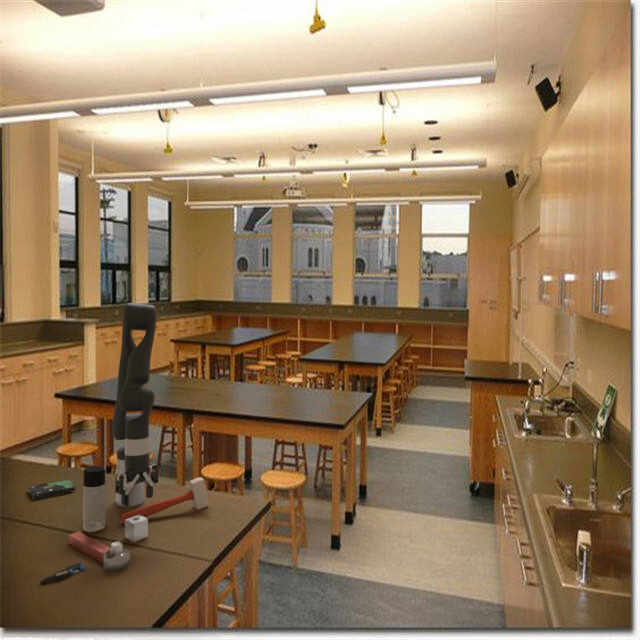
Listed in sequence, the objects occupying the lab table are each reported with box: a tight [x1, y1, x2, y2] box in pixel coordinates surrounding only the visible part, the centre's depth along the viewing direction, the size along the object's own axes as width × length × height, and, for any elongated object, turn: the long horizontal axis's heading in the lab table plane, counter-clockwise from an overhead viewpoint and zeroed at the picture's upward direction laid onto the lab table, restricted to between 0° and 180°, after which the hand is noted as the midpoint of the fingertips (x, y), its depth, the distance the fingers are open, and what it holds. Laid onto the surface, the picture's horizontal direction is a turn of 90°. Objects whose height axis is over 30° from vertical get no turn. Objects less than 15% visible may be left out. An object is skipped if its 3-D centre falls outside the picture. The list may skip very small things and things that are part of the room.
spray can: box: [82, 465, 106, 533], centre depth 177 cm, size 7×7×20 cm
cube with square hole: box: [124, 515, 149, 543], centre depth 172 cm, size 5×5×6 cm
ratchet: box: [68, 530, 131, 573], centre depth 160 cm, size 27×7×6 cm, turn 53°
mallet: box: [120, 476, 210, 526], centre depth 189 cm, size 11×4×30 cm
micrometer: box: [39, 562, 85, 585], centre depth 149 cm, size 12×2×5 cm
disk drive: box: [27, 479, 76, 500], centre depth 208 cm, size 10×3×15 cm
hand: (137, 501), depth 171 cm, fingers open, 8 cm apart
